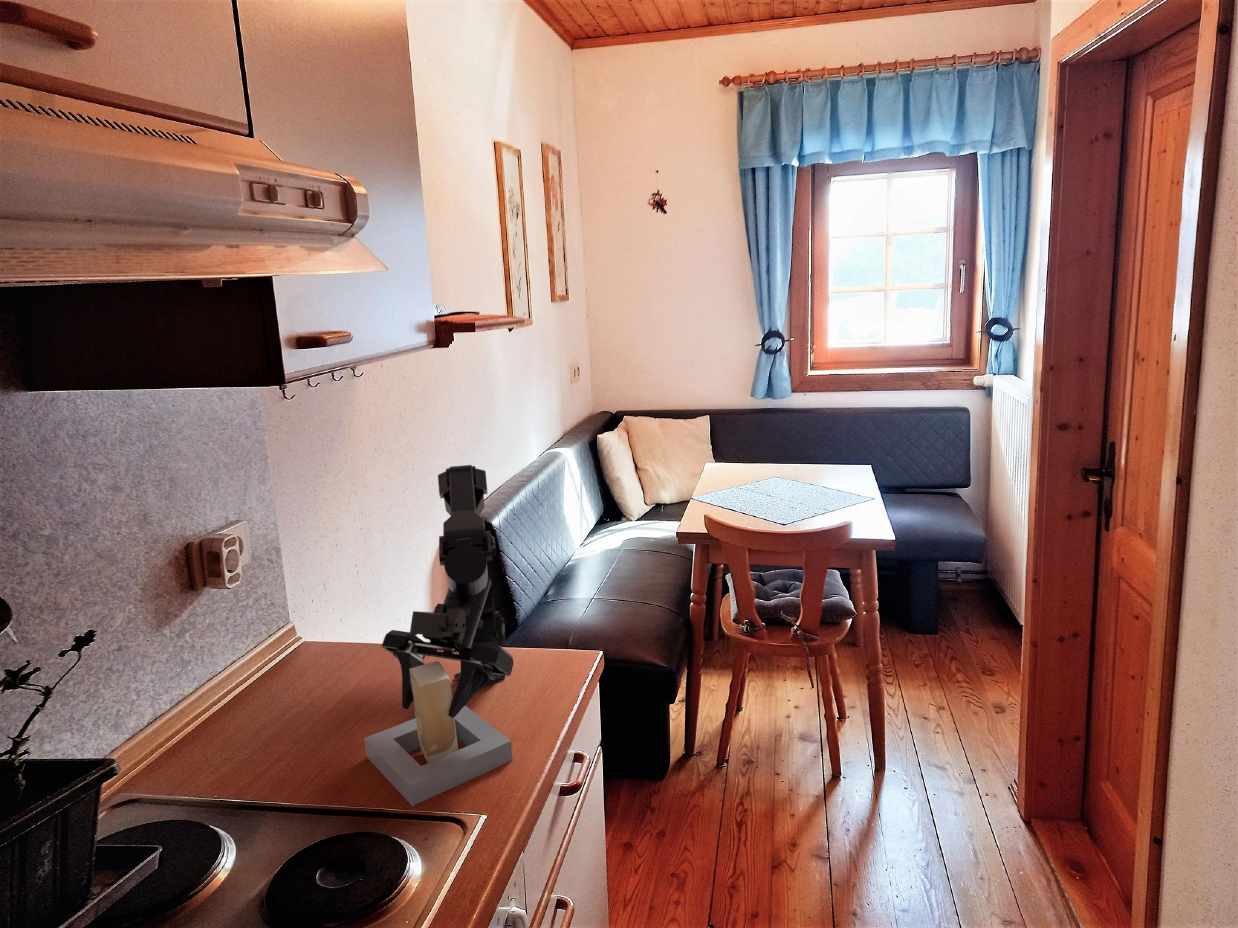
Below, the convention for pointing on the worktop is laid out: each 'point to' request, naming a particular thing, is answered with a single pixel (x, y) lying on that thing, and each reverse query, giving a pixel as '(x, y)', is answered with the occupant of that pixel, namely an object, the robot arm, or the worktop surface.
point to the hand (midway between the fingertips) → (427, 712)
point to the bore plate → (445, 772)
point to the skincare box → (433, 711)
